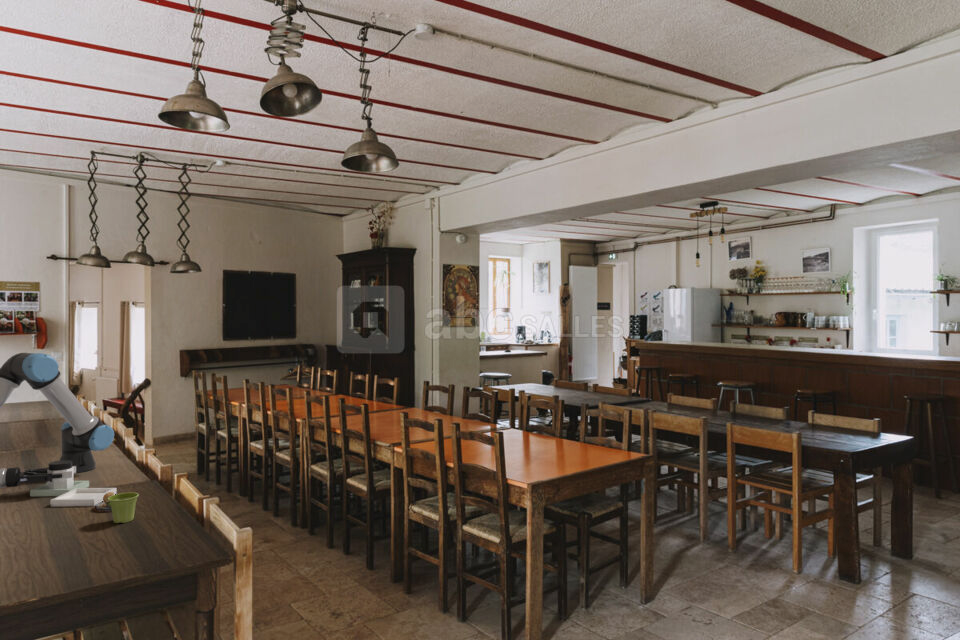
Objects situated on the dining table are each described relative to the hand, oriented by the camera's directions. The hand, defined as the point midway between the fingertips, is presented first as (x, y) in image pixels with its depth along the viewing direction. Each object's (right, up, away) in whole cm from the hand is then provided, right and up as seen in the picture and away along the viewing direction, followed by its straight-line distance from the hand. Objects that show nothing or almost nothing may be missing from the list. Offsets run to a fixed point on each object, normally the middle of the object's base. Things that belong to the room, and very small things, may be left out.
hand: (74, 471), depth 257 cm
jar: (-4, -8, -2) cm, 9 cm away
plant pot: (+43, -8, -39) cm, 58 cm away
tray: (+13, -8, -14) cm, 21 cm away
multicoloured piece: (+30, -8, -23) cm, 39 cm away
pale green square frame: (-4, -8, -2) cm, 9 cm away
